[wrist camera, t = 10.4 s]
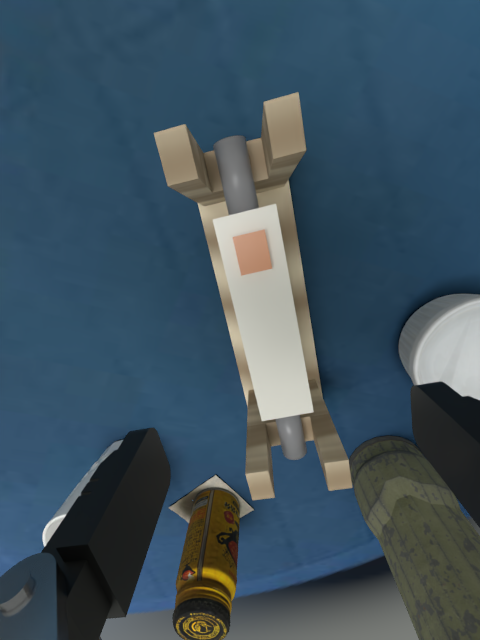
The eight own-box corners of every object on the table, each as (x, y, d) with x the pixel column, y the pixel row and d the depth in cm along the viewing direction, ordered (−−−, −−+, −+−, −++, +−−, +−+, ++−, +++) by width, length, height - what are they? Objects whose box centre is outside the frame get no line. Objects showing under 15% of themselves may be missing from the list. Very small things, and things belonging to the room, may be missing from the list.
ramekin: (370, 316, 28) (396, 334, 23) (486, 262, 26) (542, 269, 21) (407, 403, 31) (438, 436, 26) (515, 360, 29) (571, 387, 24)
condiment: (254, 508, 36) (254, 635, 25) (207, 537, 38) (186, 668, 27) (216, 473, 35) (197, 591, 23) (169, 505, 37) (130, 628, 25)
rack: (190, 164, 25) (135, 104, 13) (280, 141, 24) (304, 54, 12) (251, 413, 32) (249, 514, 20) (321, 402, 31) (361, 501, 19)
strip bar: (207, 166, 21) (192, 143, 16) (259, 152, 21) (262, 123, 15) (268, 423, 27) (272, 469, 22) (308, 416, 27) (323, 461, 22)
